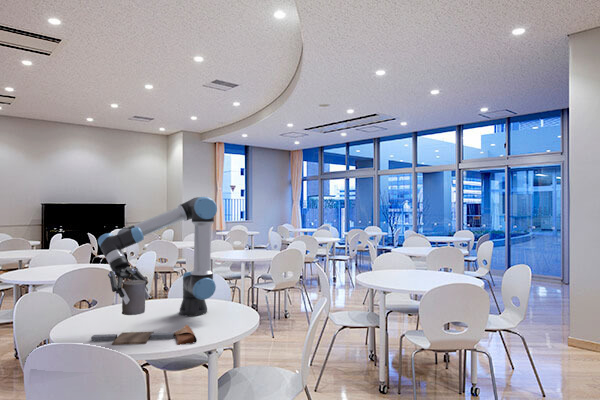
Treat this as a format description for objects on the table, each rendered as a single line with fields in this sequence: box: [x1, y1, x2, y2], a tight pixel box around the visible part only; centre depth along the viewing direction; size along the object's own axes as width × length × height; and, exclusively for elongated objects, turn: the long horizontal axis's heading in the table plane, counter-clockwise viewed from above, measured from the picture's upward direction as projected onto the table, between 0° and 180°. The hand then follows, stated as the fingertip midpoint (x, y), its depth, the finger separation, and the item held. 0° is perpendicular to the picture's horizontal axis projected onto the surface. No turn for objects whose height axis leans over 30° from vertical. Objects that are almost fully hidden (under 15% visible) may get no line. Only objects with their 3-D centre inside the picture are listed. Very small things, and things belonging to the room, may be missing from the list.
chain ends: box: [90, 331, 176, 342], centre depth 181 cm, size 35×3×2 cm, turn 97°
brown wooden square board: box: [111, 331, 155, 346], centre depth 181 cm, size 14×14×1 cm
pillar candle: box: [121, 280, 147, 316], centre depth 181 cm, size 10×10×15 cm
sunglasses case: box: [174, 324, 197, 346], centre depth 183 cm, size 18×7×7 cm
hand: (138, 300), depth 179 cm, fingers closed on pillar candle, 9 cm apart
